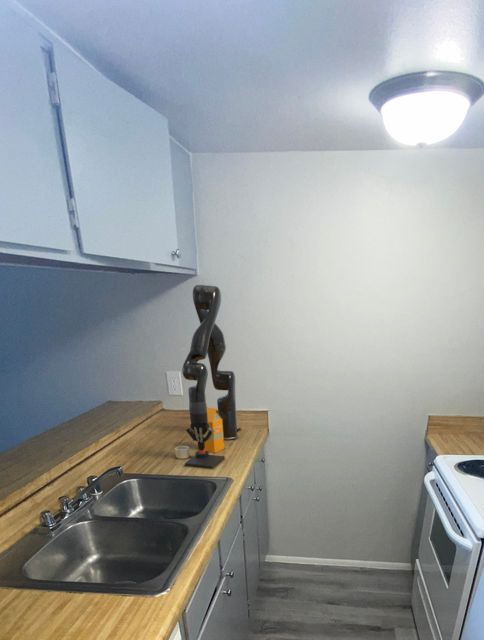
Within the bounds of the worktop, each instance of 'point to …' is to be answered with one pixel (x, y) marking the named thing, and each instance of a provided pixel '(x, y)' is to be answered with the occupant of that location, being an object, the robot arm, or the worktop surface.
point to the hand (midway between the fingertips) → (201, 449)
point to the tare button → (201, 451)
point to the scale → (204, 460)
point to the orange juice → (215, 424)
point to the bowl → (182, 452)
